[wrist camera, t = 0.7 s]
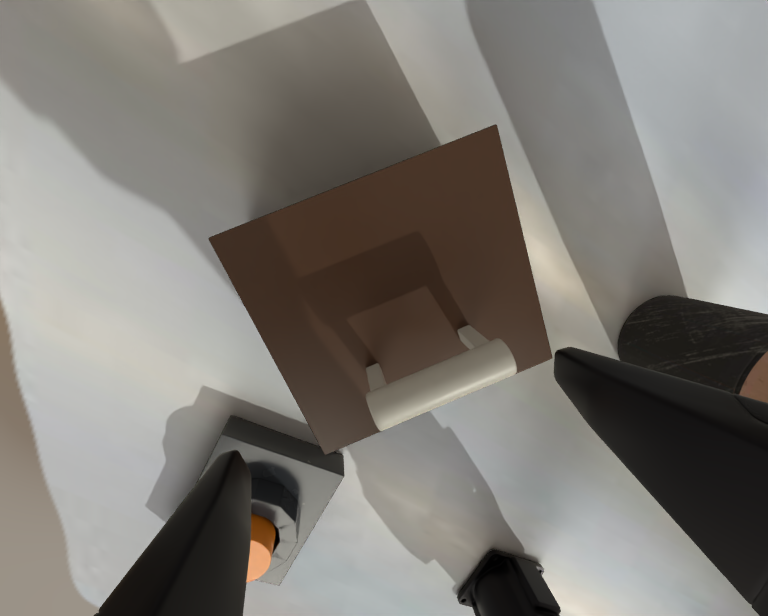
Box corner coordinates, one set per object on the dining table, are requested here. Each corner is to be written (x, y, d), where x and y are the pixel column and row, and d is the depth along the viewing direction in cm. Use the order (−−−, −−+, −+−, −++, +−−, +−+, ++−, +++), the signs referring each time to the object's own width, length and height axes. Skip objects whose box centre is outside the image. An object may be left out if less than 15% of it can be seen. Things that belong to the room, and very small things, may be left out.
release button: (262, 560, 23) (256, 589, 22) (210, 547, 22) (200, 576, 21) (284, 521, 23) (280, 547, 21) (232, 506, 22) (223, 532, 20)
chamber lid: (545, 353, 19) (614, 398, 14) (325, 446, 18) (322, 525, 14) (489, 127, 15) (559, 89, 11) (213, 236, 15) (157, 247, 10)
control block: (283, 558, 28) (275, 612, 24) (173, 530, 26) (145, 584, 22) (343, 455, 26) (345, 495, 22) (231, 414, 24) (211, 452, 20)
